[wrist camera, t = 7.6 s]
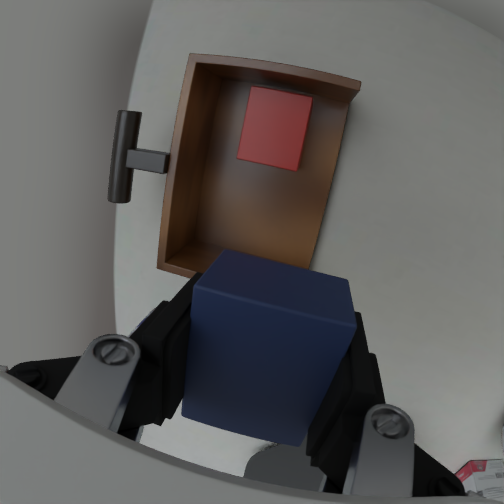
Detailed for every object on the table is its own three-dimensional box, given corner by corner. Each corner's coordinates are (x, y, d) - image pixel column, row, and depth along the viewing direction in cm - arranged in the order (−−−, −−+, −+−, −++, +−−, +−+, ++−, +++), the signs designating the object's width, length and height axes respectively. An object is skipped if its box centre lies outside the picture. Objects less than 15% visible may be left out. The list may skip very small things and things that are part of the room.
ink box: (448, 478, 32) (459, 538, 21) (469, 459, 30) (484, 523, 19) (483, 476, 31) (496, 530, 20) (502, 458, 29) (520, 514, 18)
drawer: (169, 68, 22) (125, 50, 16) (350, 97, 20) (363, 79, 14) (144, 230, 27) (100, 256, 21) (306, 272, 25) (303, 314, 19)
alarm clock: (295, 484, 36) (279, 576, 21) (241, 448, 34) (208, 552, 20) (401, 444, 30) (412, 553, 16) (355, 398, 29) (360, 535, 14)
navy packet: (224, 247, 10) (192, 284, 7) (349, 278, 10) (358, 326, 7) (205, 366, 12) (180, 416, 9) (305, 393, 11) (300, 448, 9)
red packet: (258, 91, 21) (251, 85, 18) (313, 102, 20) (313, 96, 18) (245, 157, 23) (235, 158, 20) (299, 169, 22) (296, 172, 20)
